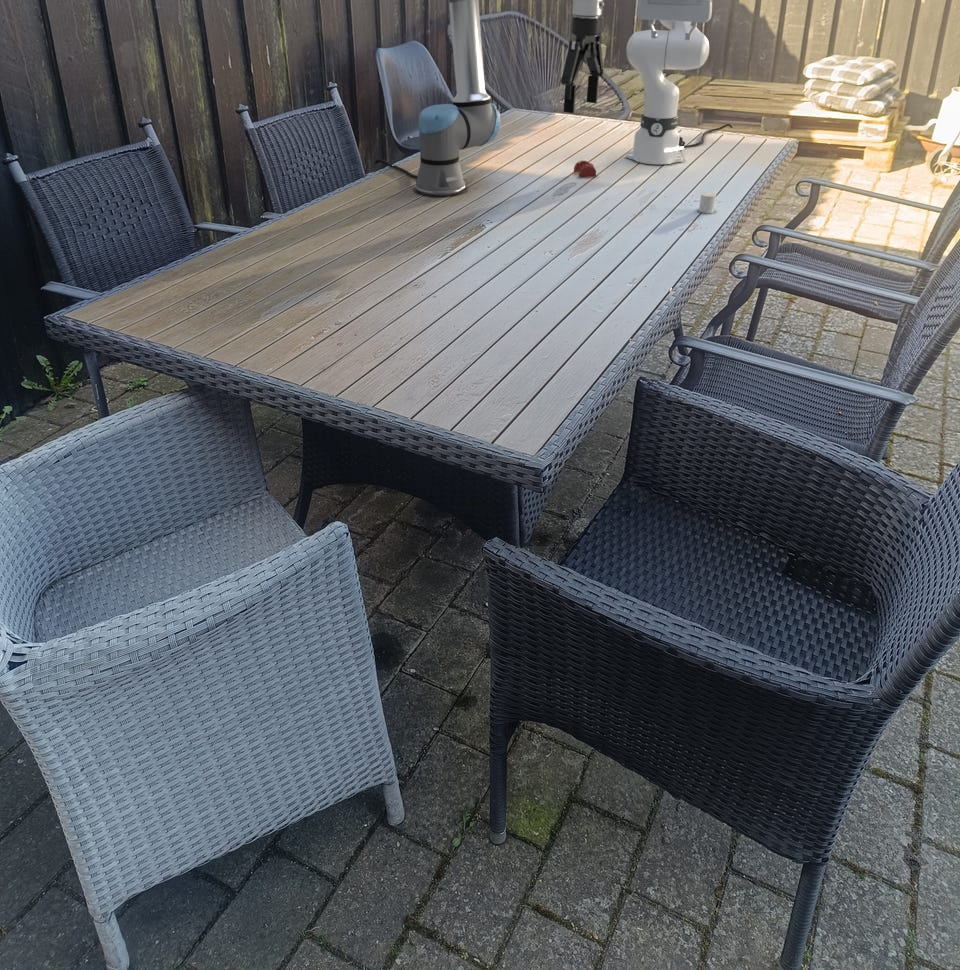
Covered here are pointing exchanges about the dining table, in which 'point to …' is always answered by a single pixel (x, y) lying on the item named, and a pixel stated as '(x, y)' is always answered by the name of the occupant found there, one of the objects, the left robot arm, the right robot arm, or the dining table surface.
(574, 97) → the left robot arm
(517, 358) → the dining table surface
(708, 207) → the can
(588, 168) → the dark red lumpy piece
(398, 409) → the dining table surface
